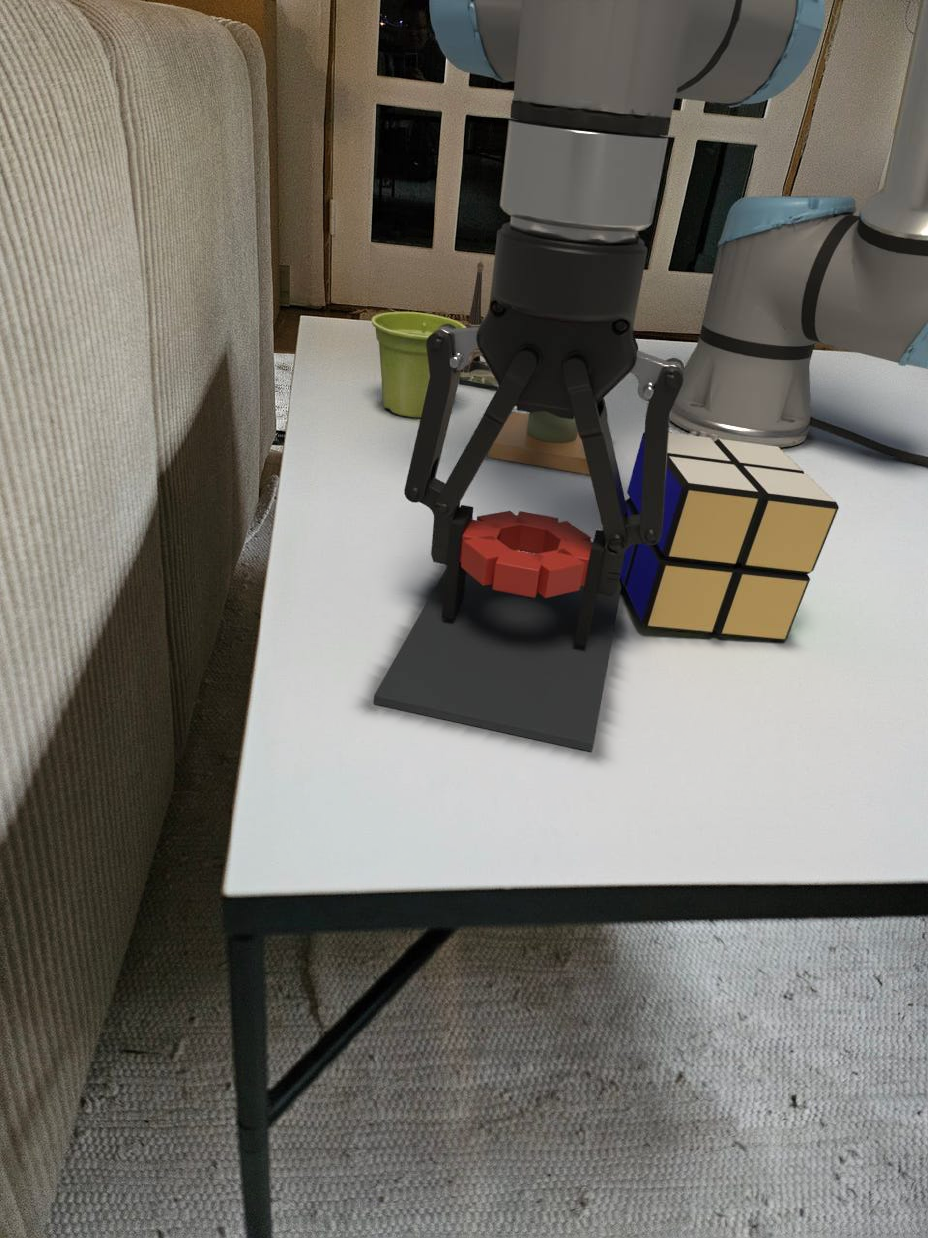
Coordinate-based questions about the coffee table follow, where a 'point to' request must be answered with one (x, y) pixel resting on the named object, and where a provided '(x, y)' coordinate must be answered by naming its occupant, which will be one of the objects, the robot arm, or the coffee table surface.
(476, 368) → the eiffel tower figurine
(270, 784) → the coffee table surface
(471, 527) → the red ring
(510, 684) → the slate mat
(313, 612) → the coffee table surface
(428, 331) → the plant pot
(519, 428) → the stack tower
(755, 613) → the puzzle cube
